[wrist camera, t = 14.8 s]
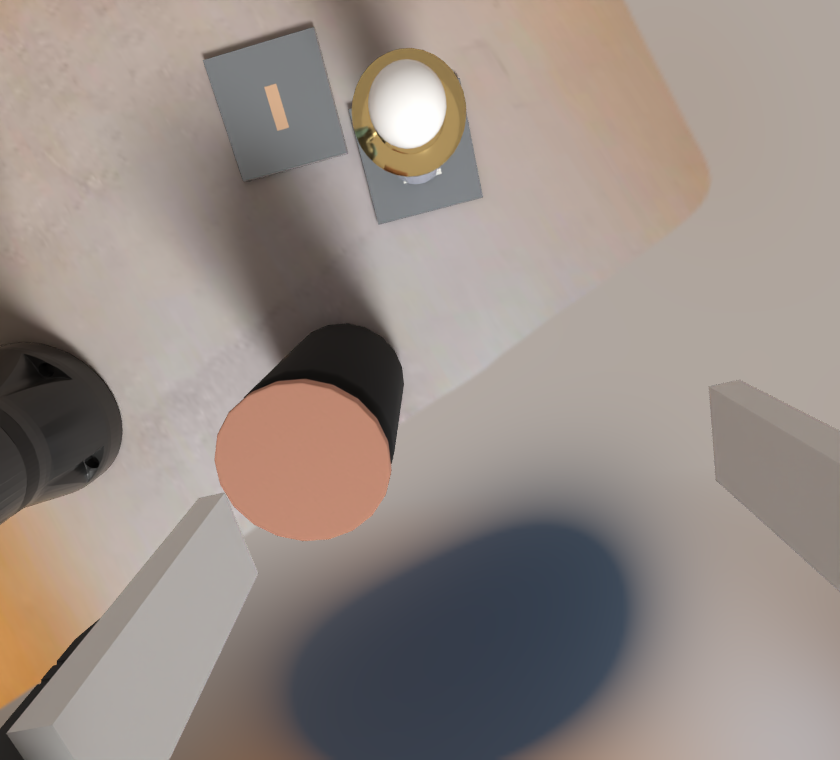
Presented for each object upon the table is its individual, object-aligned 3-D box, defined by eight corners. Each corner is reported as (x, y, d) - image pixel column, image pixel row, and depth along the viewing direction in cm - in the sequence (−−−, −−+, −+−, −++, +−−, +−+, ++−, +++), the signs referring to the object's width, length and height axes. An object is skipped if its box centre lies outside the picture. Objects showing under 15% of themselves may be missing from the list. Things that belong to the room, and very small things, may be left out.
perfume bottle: (441, 200, 41) (453, 183, 22) (373, 182, 41) (327, 150, 22) (459, 125, 40) (489, 38, 21) (389, 106, 39) (353, -1, 20)
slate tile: (245, 181, 42) (243, 181, 41) (206, 62, 39) (202, 60, 38) (348, 153, 41) (347, 152, 40) (315, 29, 38) (313, 26, 38)
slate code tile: (379, 224, 43) (378, 224, 42) (349, 110, 40) (348, 109, 39) (482, 197, 42) (482, 197, 41) (459, 79, 39) (459, 77, 39)
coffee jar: (290, 316, 45) (207, 375, 28) (407, 324, 45) (396, 388, 28) (292, 424, 48) (218, 536, 31) (401, 432, 48) (387, 547, 31)
